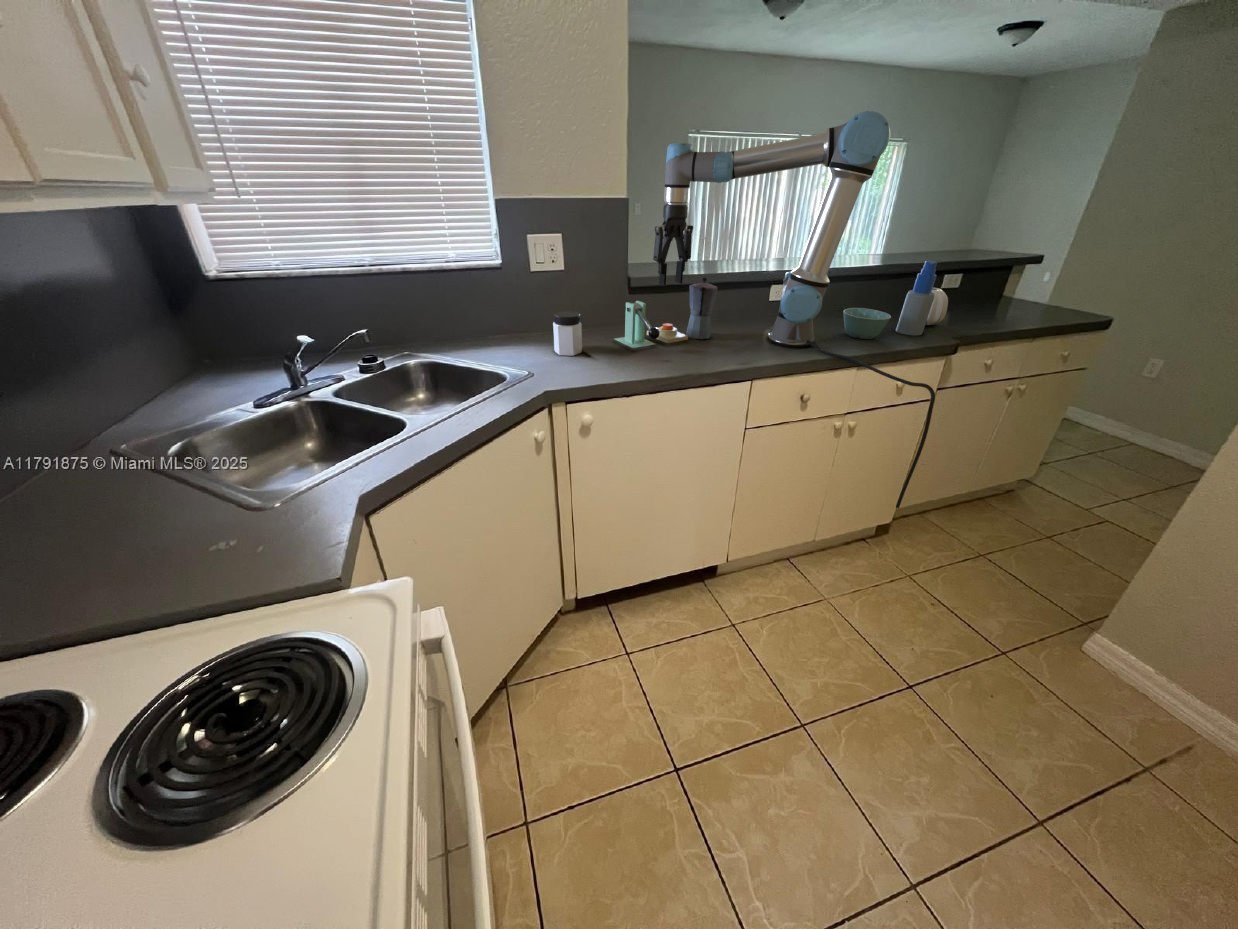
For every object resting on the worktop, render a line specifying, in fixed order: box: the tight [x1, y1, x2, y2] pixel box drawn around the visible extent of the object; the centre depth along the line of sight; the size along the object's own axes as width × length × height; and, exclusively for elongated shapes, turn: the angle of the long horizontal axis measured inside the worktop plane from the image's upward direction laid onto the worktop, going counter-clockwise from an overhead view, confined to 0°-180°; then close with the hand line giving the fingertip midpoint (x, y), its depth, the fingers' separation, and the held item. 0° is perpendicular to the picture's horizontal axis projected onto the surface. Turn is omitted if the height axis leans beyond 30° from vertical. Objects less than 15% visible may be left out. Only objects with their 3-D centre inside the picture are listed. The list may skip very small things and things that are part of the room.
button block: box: [646, 326, 689, 344], centre depth 168 cm, size 12×9×4 cm
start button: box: [661, 322, 674, 330], centre depth 167 cm, size 4×4×2 cm
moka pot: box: [685, 277, 718, 340], centre depth 168 cm, size 10×15×20 cm, turn 174°
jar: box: [552, 310, 583, 357], centre depth 153 cm, size 9×8×12 cm
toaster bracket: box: [614, 300, 656, 349], centre depth 160 cm, size 12×9×14 cm
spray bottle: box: [895, 260, 938, 336], centre depth 177 cm, size 9×9×25 cm
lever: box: [631, 302, 660, 340], centre depth 155 cm, size 15×4×4 cm
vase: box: [925, 287, 949, 326], centre depth 192 cm, size 14×14×13 cm
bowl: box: [843, 307, 892, 340], centre depth 176 cm, size 16×16×8 cm
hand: (670, 283), depth 160 cm, fingers open, 6 cm apart
